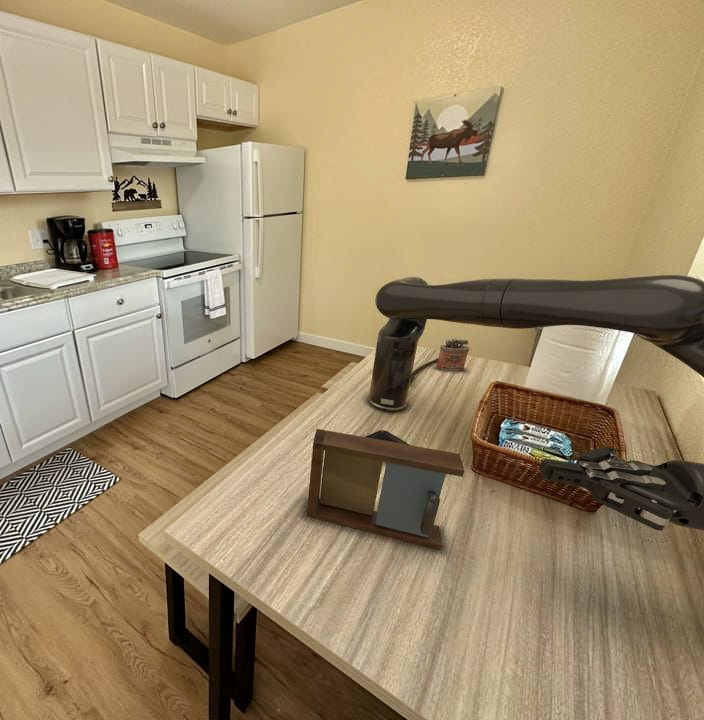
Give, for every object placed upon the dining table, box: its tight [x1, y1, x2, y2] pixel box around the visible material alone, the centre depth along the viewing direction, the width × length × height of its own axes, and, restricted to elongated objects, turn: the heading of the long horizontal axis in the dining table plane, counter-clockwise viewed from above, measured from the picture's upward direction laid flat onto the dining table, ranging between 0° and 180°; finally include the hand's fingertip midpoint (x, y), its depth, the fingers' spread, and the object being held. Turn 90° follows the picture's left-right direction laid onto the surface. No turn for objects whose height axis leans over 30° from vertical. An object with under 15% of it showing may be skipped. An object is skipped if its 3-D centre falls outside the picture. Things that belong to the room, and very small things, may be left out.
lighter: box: [435, 338, 470, 373], centre depth 118 cm, size 8×3×10 cm, turn 80°
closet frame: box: [306, 428, 466, 551], centre depth 63 cm, size 4×21×16 cm, turn 70°
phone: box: [365, 429, 411, 445], centre depth 82 cm, size 8×1×15 cm
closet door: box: [375, 462, 447, 537], centre depth 59 cm, size 4×8×13 cm, turn 70°
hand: (543, 468), depth 49 cm, fingers closed
